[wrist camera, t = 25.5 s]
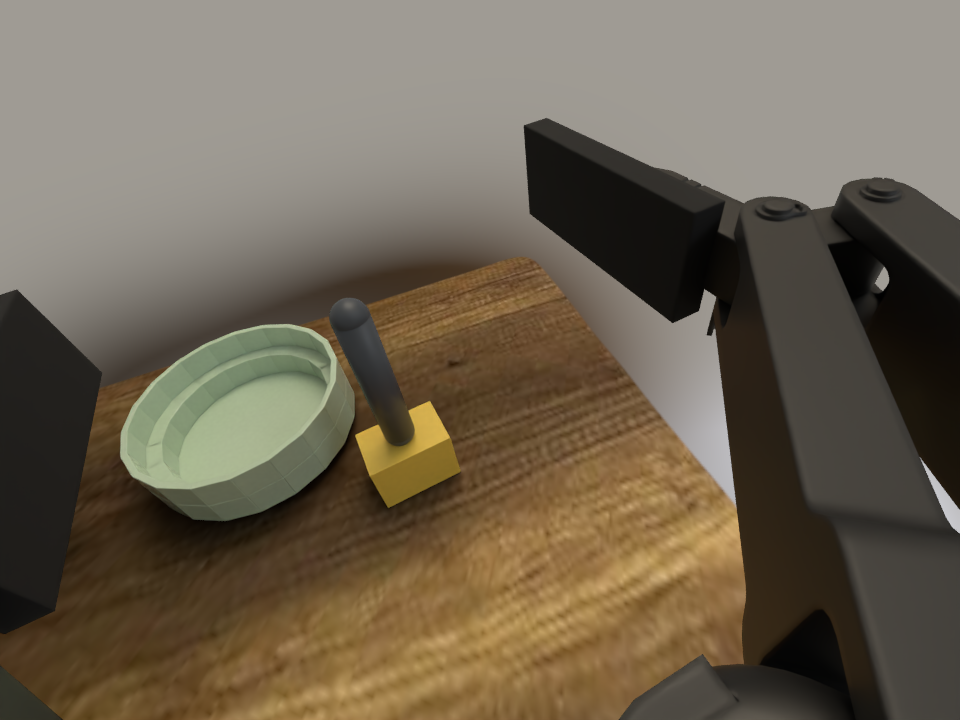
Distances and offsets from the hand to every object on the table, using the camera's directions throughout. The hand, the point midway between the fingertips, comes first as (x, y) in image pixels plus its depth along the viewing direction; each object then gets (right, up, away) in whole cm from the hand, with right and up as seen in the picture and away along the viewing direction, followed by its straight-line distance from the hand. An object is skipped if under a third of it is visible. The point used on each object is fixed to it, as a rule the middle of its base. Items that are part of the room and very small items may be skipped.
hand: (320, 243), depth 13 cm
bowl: (-15, -10, +29) cm, 34 cm away
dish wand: (-1, -12, +24) cm, 27 cm away
